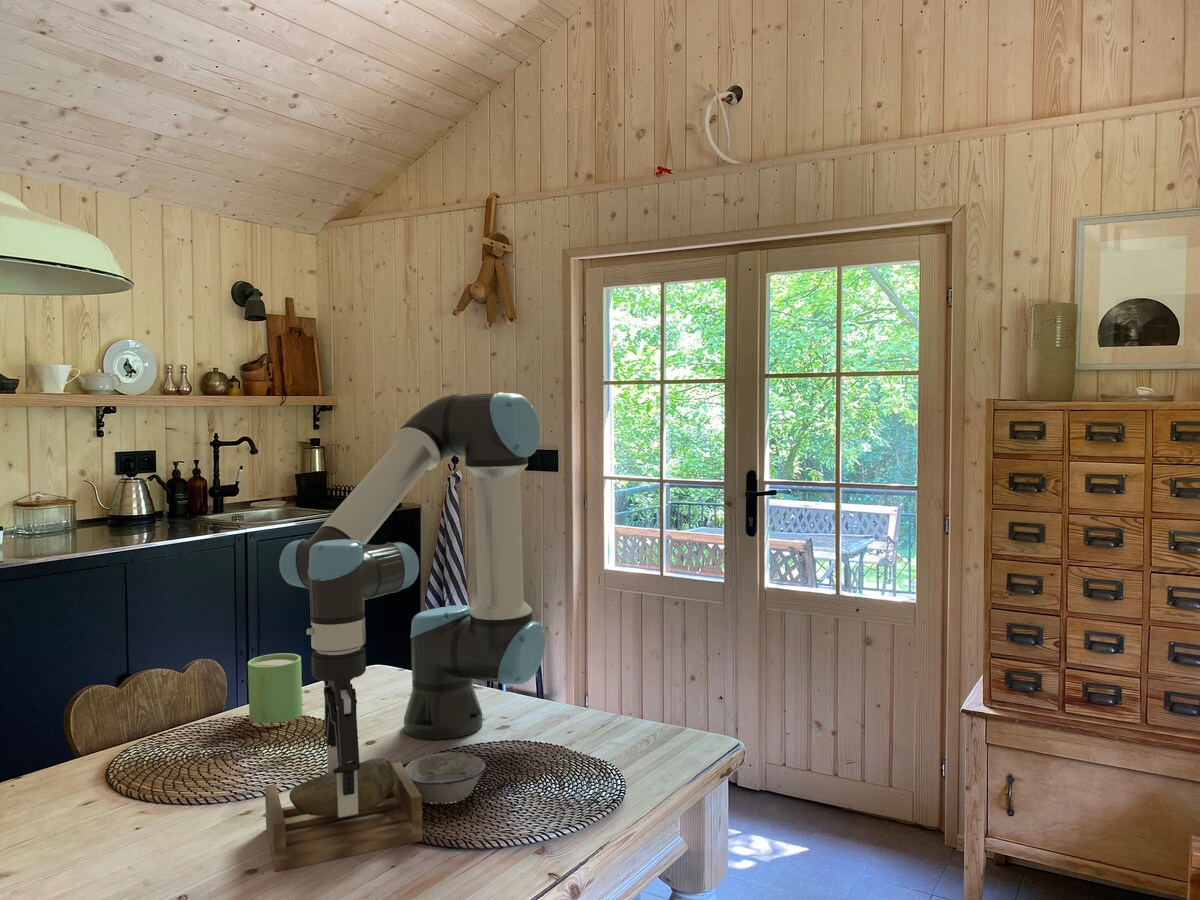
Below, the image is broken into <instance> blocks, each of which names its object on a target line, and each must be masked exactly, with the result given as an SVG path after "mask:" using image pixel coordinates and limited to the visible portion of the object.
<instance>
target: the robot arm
mask: <svg viewBox="0 0 1200 900" xmlns="http://www.w3.org/2000/svg"><path fill="white" fill-rule="evenodd" d="M540 429H541V428H540V421H539V417H538V415H537V413H536V410H535V408H534V407H533V406H532V404H531V403H530V401H529V400H528V399H527V398H526V397H525V396H523V395H520V394H517V393H509V392H507V393H506V392H505V393H504V392H500V391H499V392H494V393H468V394H463V393H459V394H458V393H454V394H449V395H445V396H441V397H440V398H437V399H435V400H434V401H432V402H430V403H429V404H427V405H426V406H424V407H422V408H421V409H420V410H418V411H417V412H416V413H415V414H413V415H412V416H411V417H410V418H409V419H407V421H406V422H405V423H403V425H402V426H401V427H399V428H398V430H397V431H396V432H395V435H394V436H393V444H392V446H390V448H389V449H388V450H387V451H386V452H385V453H384V455H382V457H380V459H379V460H378V461H377V462H376V464H374V466H373V467H372V468H371V469H370V470H369V471H368V473H367V474H365V476H364V477H363V478H362V480H360V482H359V483H358V484H357V485H356V486H355V487H354V489H353V490H352V491H351V492H350V493H349V494H348V495H347V497H345V499H344V500H342V502H341V503H340V505H338V507H337V508H336V509H335V510H334V511H333V512H332V513H331V514H330V516H329V517H328V518H327V519H326V520H325V522H324V523H323V524H322V525H320V527H319V529H318V530H316V532H315V533H314V534H313V535H312V537H310V538H309V539H304V538H302V539H299V540H298V539H296V540H293V541H291V542H289V543H288V544H287V545H285V547H284V548H283V550H282V552H281V554H280V558H279V566H278V567H279V572H280V574H281V577H282V579H283V580H284V581H285V582H286V583H287V584H289V585H291V586H293V587H294V586H295V587H299V588H303V589H306V590H307V589H308V590H309V607H310V611H309V612H310V625H311V626H312V627H310V628H307V629H306V635H308V636H311V637H310V639H311V641H310V642H311V643H310V644H311V648H312V649H313V651H312V653H311V675H312V677H313V678H314V679H315V680H318V681H320V682H323V683H324V687H323V695H324V732H323V735H324V737H325V738H326V739H325V744H326V746H327V747H326V763H327V764H326V765H327V766H326V768H327V769H326V770H327V771H326V772H327V773H330V772H332V771H333V774H336V773H337V806H338V818H340V817H345V816H350V815H355V814H358V783H357V770H359V769H360V753H359V752H360V751H359V750H360V749H359V736H358V720H357V717H358V716H357V704H358V699H357V692H356V688H355V687H353V683H351V681H352V680H353V679H355V678H359V677H361V676H363V675H364V674H365V672H366V669H367V668H366V667H367V662H366V661H367V660H366V659H367V657H366V654H367V653H366V648H365V647H364V645H365V644H366V616H365V601H367V600H370V599H375V598H377V597H382V596H384V595H389V594H391V593H394V594H395V593H397V592H400V591H401V590H404V589H407V588H409V587H411V586H412V585H413V584H414V583H415V581H416V580H417V578H418V575H419V572H420V561H419V558H418V555H417V553H416V551H415V550H414V549H413V548H412V547H411V546H410V545H408V544H407V543H404V542H401V541H398V542H386V543H384V544H368V542H369V541H370V540H371V538H372V537H373V536H374V535H375V533H376V532H377V531H378V530H379V529H380V528H381V526H382V525H383V524H384V522H385V521H386V520H387V519H388V518H389V516H390V515H391V514H392V513H393V511H394V510H395V509H396V508H397V506H399V504H400V502H402V500H403V499H404V498H405V497H406V495H408V493H409V492H410V490H412V488H413V487H414V486H415V484H416V483H417V482H418V481H419V480H420V478H421V477H422V476H423V475H424V474H425V472H426V471H431V470H433V469H435V468H436V467H437V466H438V465H439V464H440V463H441V461H443V460H444V459H446V458H450V457H456V456H458V457H464V467H465V468H466V469H467V470H468V471H469V473H471V474H472V476H473V490H474V491H473V492H474V493H473V494H474V495H473V496H474V522H475V523H474V524H475V526H474V527H475V552H476V553H475V554H476V556H475V557H476V558H475V559H476V585H477V587H476V588H477V590H476V591H477V603H476V604H475V606H474V607H472V608H471V606H468V605H466V604H465V605H464V604H463V605H462V604H461V605H459V604H457V605H449V606H448V605H447V606H442V607H441V606H440V607H435V608H431V609H427V610H423V611H421V612H418V613H417V614H415V615H414V616H413V618H412V619H411V627H410V628H411V629H410V636H409V638H410V649H411V650H410V651H411V680H412V681H411V682H412V683H411V684H412V689H411V693H410V697H409V699H408V700H409V701H408V703H407V706H406V710H405V713H404V717H403V731H404V733H405V734H407V735H408V736H410V737H413V738H416V739H423V740H431V741H432V740H433V741H434V740H449V739H455V738H459V737H460V738H461V737H464V736H467V735H470V734H473V733H474V732H477V731H478V730H480V729H481V728H482V726H483V711H482V708H481V705H480V702H479V700H478V697H477V694H476V691H475V688H474V684H473V681H474V680H480V681H486V682H493V683H499V684H501V685H507V684H510V685H521V684H522V685H523V684H525V683H527V682H529V681H530V680H531V679H532V678H533V677H534V676H535V674H536V673H537V671H538V670H539V667H540V666H541V663H542V661H543V658H544V654H545V649H546V633H545V630H544V627H543V625H542V624H540V623H539V622H538V621H533V609H532V607H531V605H529V604H528V603H527V602H526V601H525V599H524V598H525V597H524V596H525V594H524V568H523V567H524V564H523V563H524V562H523V561H524V560H523V559H524V558H523V534H522V533H523V532H522V531H523V530H522V528H523V527H522V496H521V495H522V494H521V493H522V492H521V473H522V472H523V471H524V470H525V469H526V468H527V467H528V465H529V461H528V459H529V457H531V456H533V454H535V453H536V452H537V450H538V447H539V446H538V444H539V443H540V439H541V438H540V437H541V431H540ZM327 773H326V774H327Z"/></svg>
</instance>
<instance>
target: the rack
mask: <svg viewBox="0 0 1200 900" xmlns="http://www.w3.org/2000/svg"><path fill="white" fill-rule="evenodd" d="M391 764H392V765H393V768H394V772H395V775H394V786H393V788H392V790H391V792H390V793H389V794H388V796H387V797H386V798H385V799H384V801H382V802H381V803H380V804H379V805H378V806H377V807H375V808H373V809H370V810H367V811H362V812H358V814H355V815H350V816H345V817H340V818H338V815H329V816H324V815H321V816H315V815H308V814H304V813H302V812H300V811H299V810H298V809H296V807H295V806H294V805H291V806H284V807H282V805H281V799H280V795H279V792H278V788H277V784H276V783H273V784H267V785H264V795H265V796H264V797H265V798H264V799H265V830H266V833H267V840H268V844H269V849H270V856H271V860H272V866H273V870H274V873H276V872H281V871H286V870H287V871H288V870H290V869H296V868H300V867H305V866H309V865H316V864H319V863H323V862H329V861H333V860H337V859H342V858H349V857H353V856H357V855H362V854H366V853H372V852H375V851H379V850H384V849H389V848H394V847H398V846H403V845H408V844H413V843H417V842H418V843H419V842H423V839H424V836H423V834H424V832H423V801H422V796H421V794H420V792H419V791H418V789H417V788H416V786H415V784H414V783H413V781H412V780H411V778H410V776H409V775H408V773H407V772H406V770H405V767H404V765H403V764H402V762H401V761H399V762H398V761H397V762H394V763H393V762H391Z"/></svg>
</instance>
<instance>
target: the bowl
mask: <svg viewBox="0 0 1200 900" xmlns="http://www.w3.org/2000/svg"><path fill="white" fill-rule="evenodd" d="M486 766H487V763H486V762H485V761H484V760H483V759H482V757H481V758H480V757H479V756H476V755H474V754H471V753H466V752H465V753H464V752H455V751H454V752H453V751H449V752H447V751H446V752H438V753H437V752H436V753H432V754H427V755H424V756H421V757H418V758H417V759H414V760H411V761H410V762H408V764H407V765H405V767H404V768H405V770H406V772H407V773H408V775H409V776H410V778H411V780H412V781H413V783H414V784H415V786H416V788H417V789H418V791H419V792H420V794H421V796H422V800H424V801H428V802H436V803H446V802H453V801H457V800H461V799H464V798H466V797H467V796H469V795H470V796H471V794H472V792H473V791H474V788H475V787H476V784H477V783H478V782H479V779H480V777H481V776H482V774H483V773H484V771H485V769H486V768H487V767H486ZM470 796H469V797H470Z"/></svg>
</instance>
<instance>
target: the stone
mask: <svg viewBox="0 0 1200 900" xmlns="http://www.w3.org/2000/svg"><path fill="white" fill-rule="evenodd" d="M359 763H360V769H359V770H357V783H358V812H362V811H367V810H370V809H373V808H375V807H377V806H378V805H379V804H380V803H381V802H382V801H384V799H385V798H386V797H387V796H388V794H389V793H390V792H391V790H392V788H393V786H394V775H395V772H394V768H393V765H392V762H391V760H390V759H388V758H386V757H378V758H371V759H368V760H363V761H361V762H360V761H359ZM288 797H289V800H290V803H291V804H292V806H295V807H296V809H298V810H299V811H300V812H302V813H304V814H308V815H315V816H321V815H324V816H329V815H338V806H337V773H336V774H333V771H332V772H330V773H325V774H322V775H319V776H317V777H314V778H312V779H308V780H306V781H304V782H301V783H300V784H298V785H296V786H294V787H293V788H292V789H291V790H290V791H289V796H288Z"/></svg>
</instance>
